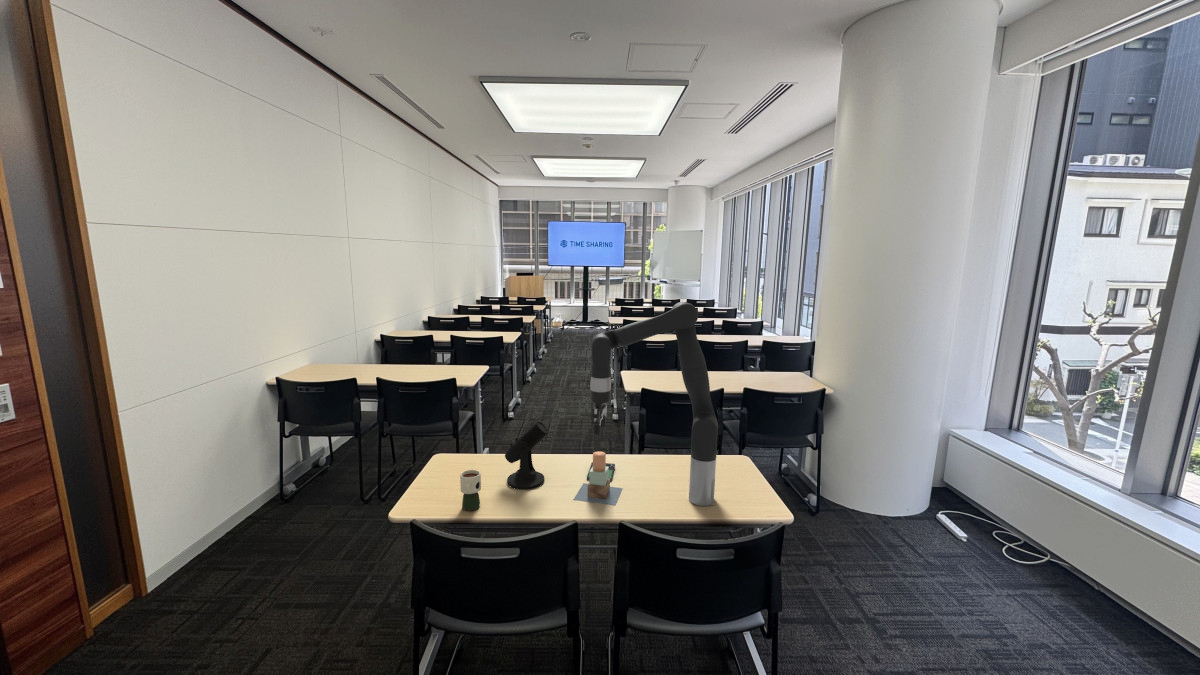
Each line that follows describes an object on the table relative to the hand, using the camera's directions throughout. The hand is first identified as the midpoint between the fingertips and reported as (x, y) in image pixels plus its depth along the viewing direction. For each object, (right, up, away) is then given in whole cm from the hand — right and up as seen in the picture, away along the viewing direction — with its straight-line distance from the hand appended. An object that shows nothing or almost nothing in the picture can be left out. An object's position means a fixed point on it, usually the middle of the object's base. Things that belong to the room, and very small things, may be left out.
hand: (599, 430), depth 181 cm
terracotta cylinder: (0, -15, +2) cm, 15 cm away
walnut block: (0, -25, +4) cm, 25 cm away
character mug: (-46, -27, -6) cm, 54 cm away
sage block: (0, -20, +3) cm, 20 cm away
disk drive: (+1, -23, +22) cm, 32 cm away
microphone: (-30, -24, +15) cm, 41 cm away
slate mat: (0, -26, +4) cm, 26 cm away
